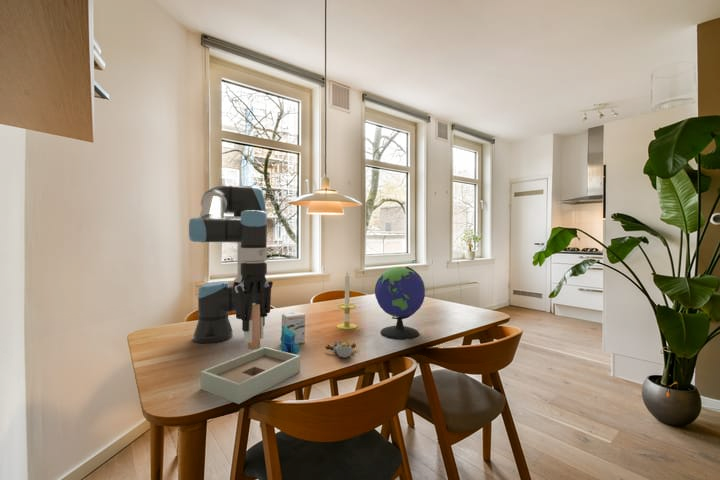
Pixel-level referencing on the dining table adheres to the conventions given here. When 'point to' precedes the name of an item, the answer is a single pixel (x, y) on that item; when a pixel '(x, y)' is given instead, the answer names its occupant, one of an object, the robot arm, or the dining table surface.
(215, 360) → the dining table surface
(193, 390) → the dining table surface
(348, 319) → the candle
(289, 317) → the ink box
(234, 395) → the box
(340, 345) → the toy
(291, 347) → the gemstone
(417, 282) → the globe
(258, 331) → the peg
